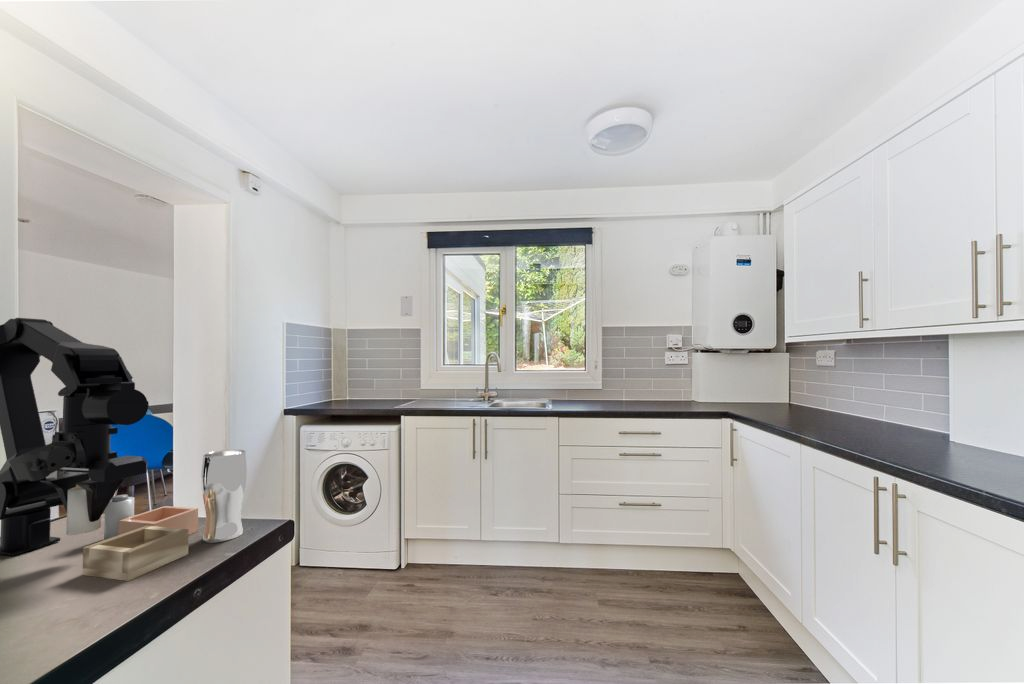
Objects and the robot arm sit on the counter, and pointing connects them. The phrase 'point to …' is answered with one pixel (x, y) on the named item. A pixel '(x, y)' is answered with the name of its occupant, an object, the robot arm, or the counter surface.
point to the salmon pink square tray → (162, 519)
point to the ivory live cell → (79, 513)
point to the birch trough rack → (135, 552)
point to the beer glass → (223, 493)
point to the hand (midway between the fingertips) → (84, 520)
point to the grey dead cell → (117, 514)
